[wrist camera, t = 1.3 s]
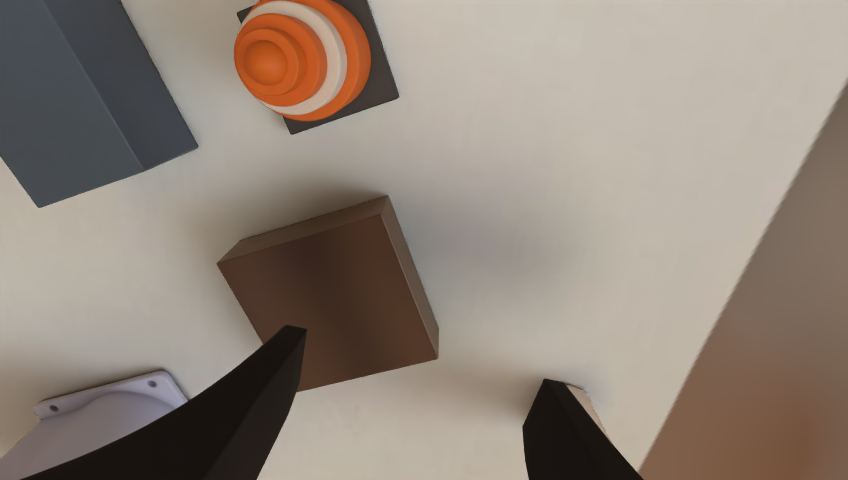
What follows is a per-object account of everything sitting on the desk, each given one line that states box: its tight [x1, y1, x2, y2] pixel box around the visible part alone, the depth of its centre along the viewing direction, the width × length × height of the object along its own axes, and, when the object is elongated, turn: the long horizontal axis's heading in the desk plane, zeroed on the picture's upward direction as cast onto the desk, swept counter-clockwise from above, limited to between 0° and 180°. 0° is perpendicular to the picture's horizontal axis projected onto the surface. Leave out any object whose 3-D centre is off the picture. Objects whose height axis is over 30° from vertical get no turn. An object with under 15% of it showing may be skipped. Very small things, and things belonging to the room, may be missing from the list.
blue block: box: [0, 0, 198, 208], centre depth 17 cm, size 5×6×4 cm
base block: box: [217, 196, 439, 392], centre depth 22 cm, size 8×8×2 cm
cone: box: [234, 0, 399, 135], centre depth 15 cm, size 5×5×7 cm
